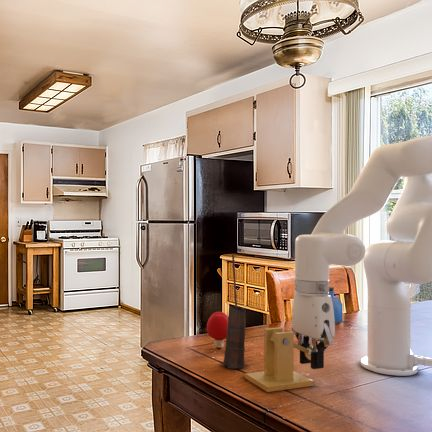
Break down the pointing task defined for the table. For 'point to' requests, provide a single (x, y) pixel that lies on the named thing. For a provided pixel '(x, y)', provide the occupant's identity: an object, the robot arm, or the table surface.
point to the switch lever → (296, 346)
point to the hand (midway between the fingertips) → (311, 364)
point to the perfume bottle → (336, 305)
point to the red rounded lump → (218, 328)
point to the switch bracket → (278, 364)
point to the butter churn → (235, 334)
